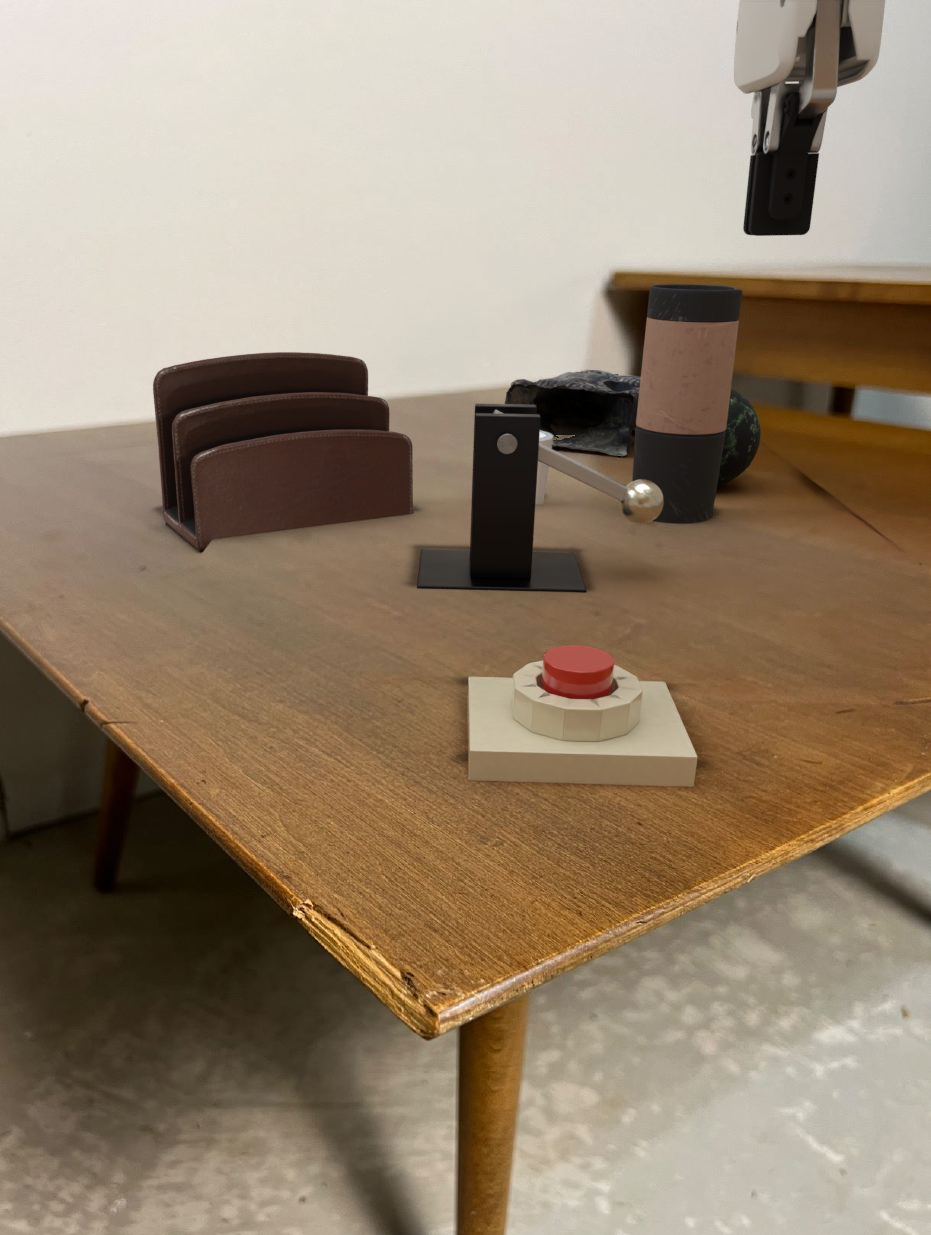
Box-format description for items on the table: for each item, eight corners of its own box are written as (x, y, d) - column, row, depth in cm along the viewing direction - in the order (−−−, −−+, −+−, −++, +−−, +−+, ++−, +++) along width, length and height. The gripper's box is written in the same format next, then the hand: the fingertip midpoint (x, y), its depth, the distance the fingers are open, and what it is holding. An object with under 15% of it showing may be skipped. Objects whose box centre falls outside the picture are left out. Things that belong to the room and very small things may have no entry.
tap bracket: (573, 566, 84) (585, 400, 79) (585, 605, 76) (600, 423, 71) (420, 563, 84) (423, 397, 79) (416, 601, 76) (419, 419, 71)
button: (606, 676, 57) (609, 645, 56) (616, 704, 53) (619, 672, 53) (538, 674, 57) (541, 643, 56) (543, 703, 54) (546, 670, 53)
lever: (645, 524, 80) (667, 486, 78) (652, 536, 77) (675, 497, 75) (477, 443, 78) (497, 402, 76) (478, 452, 75) (498, 410, 73)
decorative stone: (712, 471, 116) (724, 376, 112) (774, 492, 107) (789, 390, 103) (633, 478, 112) (643, 380, 108) (691, 501, 104) (703, 395, 100)
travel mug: (609, 521, 97) (629, 285, 88) (662, 508, 101) (686, 282, 93) (678, 540, 91) (706, 291, 83) (731, 525, 96) (763, 288, 88)
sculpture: (495, 441, 127) (573, 415, 152) (625, 464, 121) (684, 433, 146) (503, 373, 124) (581, 358, 149) (637, 393, 118) (695, 373, 143)
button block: (662, 708, 60) (668, 651, 59) (693, 787, 52) (702, 723, 51) (467, 703, 61) (469, 646, 59) (468, 781, 52) (470, 716, 51)
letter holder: (162, 523, 94) (148, 357, 88) (365, 499, 103) (364, 346, 97) (197, 553, 86) (184, 372, 80) (414, 524, 95) (416, 359, 89)
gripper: (971, -239, 45) (897, 237, 52) (844, -135, 58) (800, 231, 66) (791, -235, 45) (743, 239, 52) (706, -132, 58) (678, 233, 66)
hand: (775, 234), depth 59 cm, fingers closed
